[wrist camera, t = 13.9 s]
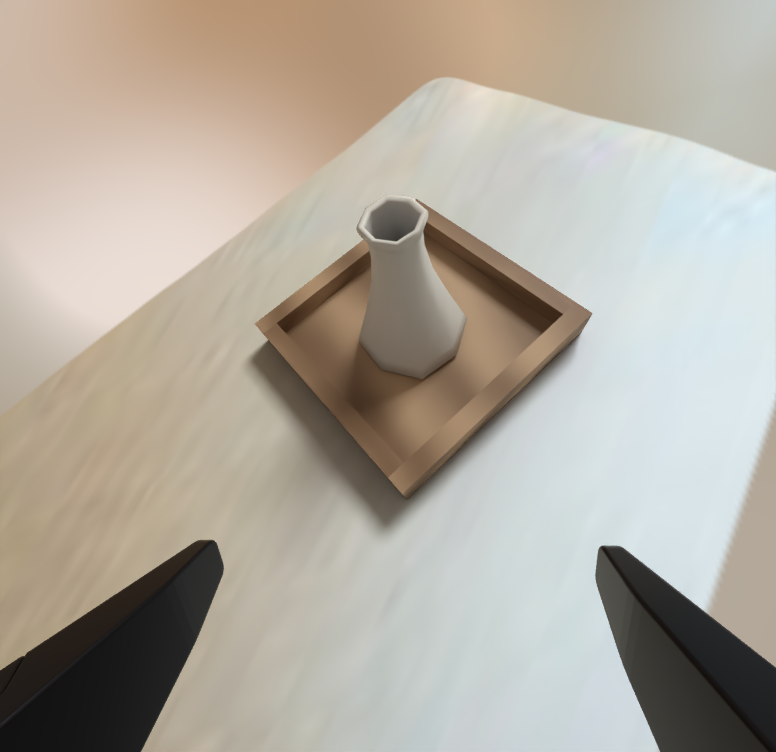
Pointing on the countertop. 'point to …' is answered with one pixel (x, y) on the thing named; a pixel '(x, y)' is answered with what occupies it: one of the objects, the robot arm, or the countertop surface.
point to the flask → (406, 293)
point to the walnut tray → (448, 382)
